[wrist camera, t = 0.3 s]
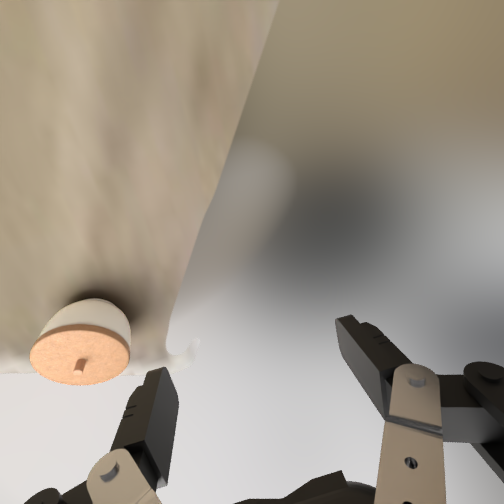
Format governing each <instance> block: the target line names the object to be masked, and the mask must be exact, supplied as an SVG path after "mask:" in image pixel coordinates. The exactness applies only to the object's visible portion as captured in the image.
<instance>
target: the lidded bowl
mask: <svg viewBox="0 0 504 504" xmlns="http://www.w3.org/2000/svg"><path fill="white" fill-rule="evenodd" d="M130 346H131V330H130V325H129V322H128V320H127V317H126V316H125V315H124V313H123V312H122V311H121V310H120V309H119V308H117V307H116V306H115V305H114V304H113V303H111V302H109V301H107V300H104V299H99V298H89V299H85V300H82V301H78V302H75V303H72V304H70V305H68V306H66V307H64V308H63V309H61V310H60V311H58V312H57V313H56V314H55V315H54V316H53V317H52V318H51V319H50V320H49V322H48V323H47V324H46V326H45V327H44V329H43V330H42V332H41V334H40V335H39V337H38V339H37V340H36V342H35V343H34V345H33V347H32V349H31V352H30V362H31V364H32V366H33V368H34V369H35V370H36V371H37V372H38V373H39V374H40V375H42V376H44V377H45V378H47V379H49V380H52V381H55V382H58V383H62V384H68V385H91V384H97V383H101V382H105V381H108V380H110V379H112V378H114V377H116V376H118V375H119V374H120V373H121V372H122V371H123V370H124V369H125V368H126V367H127V365H128V363H129V359H130Z"/></svg>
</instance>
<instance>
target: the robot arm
mask: <svg viewBox="0 0 504 504" xmlns="http://www.w3.org/2000/svg"><path fill="white" fill-rule="evenodd" d="M335 324H336V331H337V337H338V343H339V348H340V351H341V354H342V356H343V358H344V360H345V361H346V363H347V365H348V366H349V368H350V369H351V370H352V372H353V374H354V375H355V377H356V378H357V380H358V381H359V383H360V384H361V386H362V387H363V389H364V390H365V392H366V393H367V395H368V396H369V398H370V399H371V401H372V402H373V404H374V405H375V407H376V408H377V410H378V411H379V413H380V414H381V415H382V417H383V419H384V420H385V425H384V432H383V439H382V448H381V456H380V462H379V470H378V478H377V486H376V488H375V487H372V486H370V485H366V484H362V483H359V482H352V481H346V480H345V478H344V475H343V473H342V470H340V471H337V472H334V473H331V474H327V475H324V476H321V477H318V478H315V479H312V480H310V481H309V482H307V483H306V484H304V485H303V486H301V487H300V488H298V489H297V490H295V491H294V492H292V493H291V494H289V495H288V496H286V497H284V498H282V499H247V500H244V501H241V502H238V503H235V504H446V490H445V471H444V452H443V442H463V443H464V442H465V443H470V444H471V445H472V446H473V447H474V448H475V449H476V451H477V452H478V453H479V454H480V455H481V457H482V458H483V459H484V460H485V461H486V463H487V464H488V465H489V466H490V467H491V468H492V470H493V471H494V472H495V473H496V474H497V476H498V477H499V478H500V479H501V480H502V482H503V483H504V368H503V367H501V366H499V365H496V364H493V363H489V362H472V363H470V364H468V365H466V366H465V368H464V375H437V374H435V373H434V372H433V371H432V370H431V369H429V368H427V367H425V366H422V365H419V364H413V363H412V362H411V361H410V360H409V359H408V358H407V357H406V356H405V355H404V354H403V353H402V352H401V351H400V350H399V349H398V348H397V347H396V346H395V345H394V344H393V343H392V342H390V340H389V339H388V338H387V337H386V336H384V334H383V333H382V332H381V331H380V330H379V329H378V328H377V327H376V326H373V325H371V324H369V323H367V322H364V323H361V324H360V323H359V322H358V321H357V320H356V319H355V317H353V315H348V316H344V317H341V318H337V319H335ZM178 408H179V401H178V395H177V392H176V389H175V387H174V384H173V382H172V380H171V377H170V375H169V372H168V370H167V368H166V367H162V368H159V369H155V370H152V371H148V372H147V374H146V377H145V380H144V384H143V385H142V386H138V387H137V388H136V389H135V391H134V392H133V393H132V395H131V396H130V398H129V400H128V403H127V406H126V410H125V411H124V414H123V419H122V420H121V422H120V425H119V428H118V430H117V433H116V436H115V439H114V441H113V444H112V447H111V450H110V452H109V453H107V454H106V455H105V456H103V457H102V458H101V459H100V460H99V461H98V462H97V463H96V464H95V465H94V467H93V468H92V470H91V471H90V473H89V475H88V478H87V480H86V481H84V482H83V483H81V484H79V485H78V486H76V487H74V488H73V489H71V490H69V491H68V492H66V493H64V494H63V495H60V493H59V492H58V490H57V489H55V488H48V489H44V490H42V491H40V492H38V493H37V494H35V495H34V496H32V497H31V498H30V499H29V500H27V501H26V502H25V503H24V504H162V503H161V501H160V500H159V498H158V497H157V495H156V489H157V488H161V487H164V486H167V483H168V476H169V469H170V462H171V456H172V449H173V442H174V436H175V428H176V422H177V415H178Z"/></svg>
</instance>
